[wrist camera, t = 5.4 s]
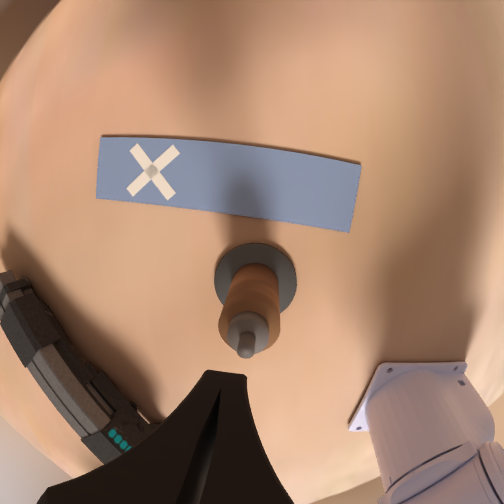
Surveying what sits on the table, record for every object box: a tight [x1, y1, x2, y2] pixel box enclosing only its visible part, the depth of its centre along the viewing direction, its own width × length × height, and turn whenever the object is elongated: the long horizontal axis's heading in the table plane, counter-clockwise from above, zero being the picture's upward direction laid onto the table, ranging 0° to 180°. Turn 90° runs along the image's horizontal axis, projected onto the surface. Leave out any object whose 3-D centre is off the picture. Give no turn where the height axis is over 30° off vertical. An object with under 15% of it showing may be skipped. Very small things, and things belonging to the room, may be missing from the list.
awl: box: [218, 263, 280, 358], centre depth 14 cm, size 3×3×7 cm
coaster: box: [214, 243, 297, 313], centre depth 18 cm, size 5×5×1 cm
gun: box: [0, 270, 159, 464], centre depth 20 cm, size 4×20×10 cm, turn 40°
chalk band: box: [96, 137, 362, 233], centre depth 16 cm, size 16×4×1 cm, turn 82°
